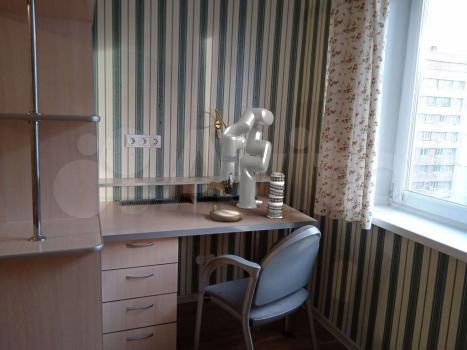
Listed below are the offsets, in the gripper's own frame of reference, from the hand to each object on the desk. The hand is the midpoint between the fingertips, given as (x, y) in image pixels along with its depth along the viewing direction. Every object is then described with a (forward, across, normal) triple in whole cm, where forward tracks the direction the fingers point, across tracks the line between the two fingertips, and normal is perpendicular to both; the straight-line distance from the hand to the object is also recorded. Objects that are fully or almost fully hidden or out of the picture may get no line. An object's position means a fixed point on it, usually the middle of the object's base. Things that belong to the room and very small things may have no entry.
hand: (227, 192), depth 197 cm
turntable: (+14, 0, 0) cm, 14 cm away
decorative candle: (+14, +1, +28) cm, 31 cm away
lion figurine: (+1, -2, -4) cm, 4 cm away
